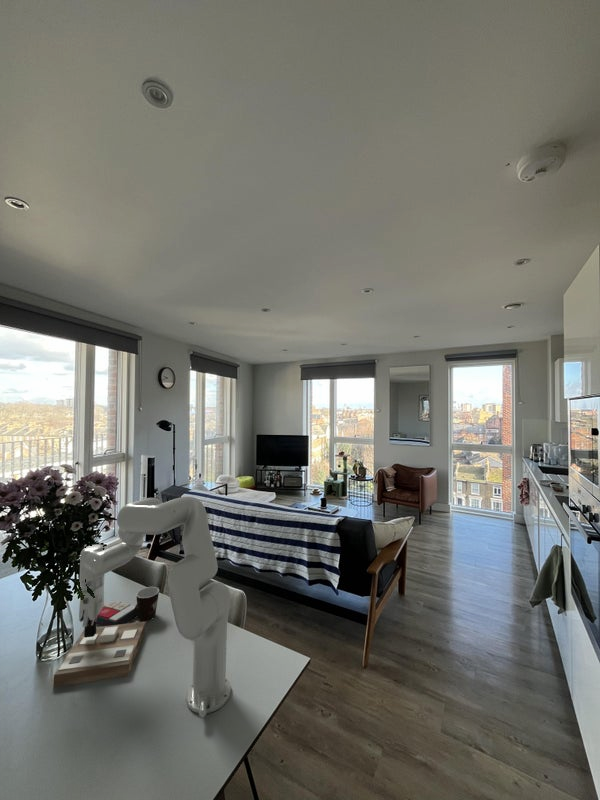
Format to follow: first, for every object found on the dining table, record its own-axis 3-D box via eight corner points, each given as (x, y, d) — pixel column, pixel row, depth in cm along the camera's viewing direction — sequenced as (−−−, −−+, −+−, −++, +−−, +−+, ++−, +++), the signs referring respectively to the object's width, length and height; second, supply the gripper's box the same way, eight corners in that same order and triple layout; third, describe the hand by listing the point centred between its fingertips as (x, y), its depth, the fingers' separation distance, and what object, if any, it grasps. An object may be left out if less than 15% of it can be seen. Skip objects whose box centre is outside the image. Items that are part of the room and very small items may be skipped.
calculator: (114, 598, 140) (139, 604, 134) (114, 608, 139) (139, 615, 134) (89, 612, 129) (115, 620, 124) (89, 623, 129) (115, 631, 123)
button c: (92, 652, 112) (93, 642, 112) (78, 654, 111) (79, 644, 111) (97, 644, 116) (98, 634, 116) (84, 645, 115) (84, 635, 115)
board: (128, 675, 102) (128, 662, 103) (53, 686, 98) (54, 673, 98) (145, 630, 124) (145, 620, 124) (84, 638, 119) (84, 627, 119)
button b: (113, 644, 113) (114, 634, 113) (99, 646, 112) (100, 635, 112) (117, 636, 117) (118, 626, 118) (104, 637, 116) (104, 627, 117)
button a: (133, 647, 115) (133, 637, 115) (120, 649, 114) (120, 639, 114) (136, 639, 119) (137, 629, 119) (123, 640, 118) (124, 630, 118)
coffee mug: (151, 608, 138) (152, 584, 139) (162, 615, 133) (163, 591, 134) (123, 622, 129) (124, 596, 129) (134, 630, 124) (135, 604, 124)
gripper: (95, 591, 108) (93, 648, 107) (110, 571, 123) (109, 621, 121) (70, 594, 106) (68, 652, 105) (88, 573, 121) (87, 624, 120)
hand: (90, 635), depth 113 cm, fingers closed
